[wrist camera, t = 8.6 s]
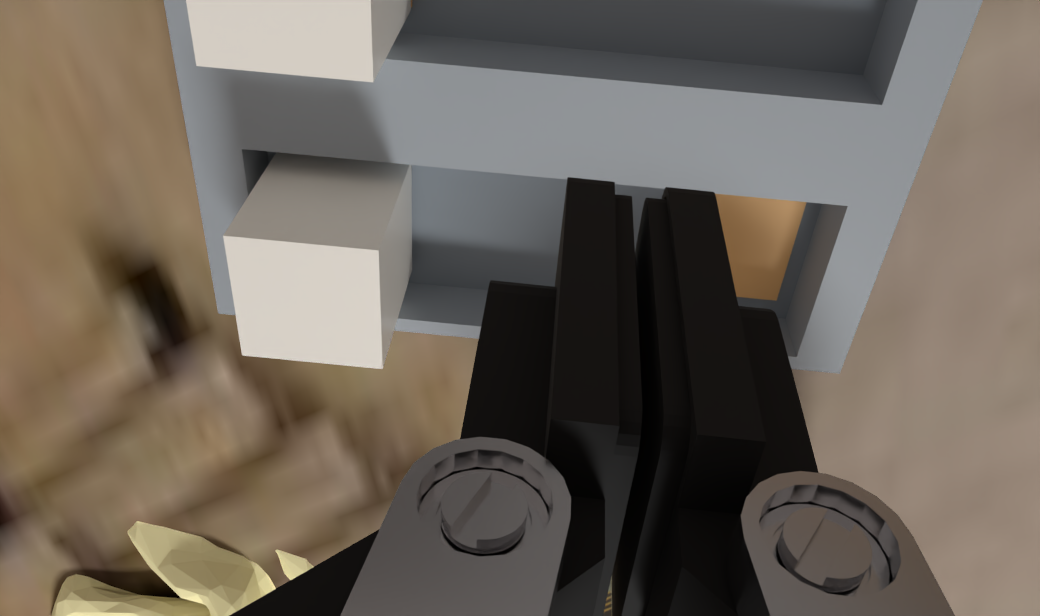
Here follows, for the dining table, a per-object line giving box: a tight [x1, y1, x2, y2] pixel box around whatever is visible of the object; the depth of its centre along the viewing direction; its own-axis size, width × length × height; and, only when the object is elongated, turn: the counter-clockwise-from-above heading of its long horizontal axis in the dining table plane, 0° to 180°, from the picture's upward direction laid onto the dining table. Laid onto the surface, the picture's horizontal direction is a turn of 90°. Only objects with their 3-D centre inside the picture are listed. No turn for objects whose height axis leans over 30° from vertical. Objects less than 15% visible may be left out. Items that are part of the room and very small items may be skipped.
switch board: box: [164, 0, 983, 374], centre depth 25 cm, size 20×15×4 cm
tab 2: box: [223, 152, 412, 369], centre depth 25 cm, size 4×4×5 cm
